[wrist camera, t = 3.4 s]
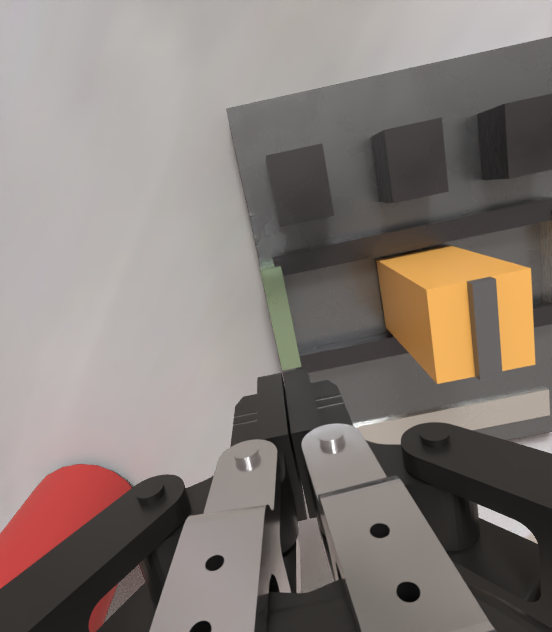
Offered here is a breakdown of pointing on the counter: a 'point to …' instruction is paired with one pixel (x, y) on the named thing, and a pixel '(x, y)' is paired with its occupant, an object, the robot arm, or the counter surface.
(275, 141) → the panel
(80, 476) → the beer can
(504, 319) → the toggle
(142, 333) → the counter surface
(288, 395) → the robot arm
